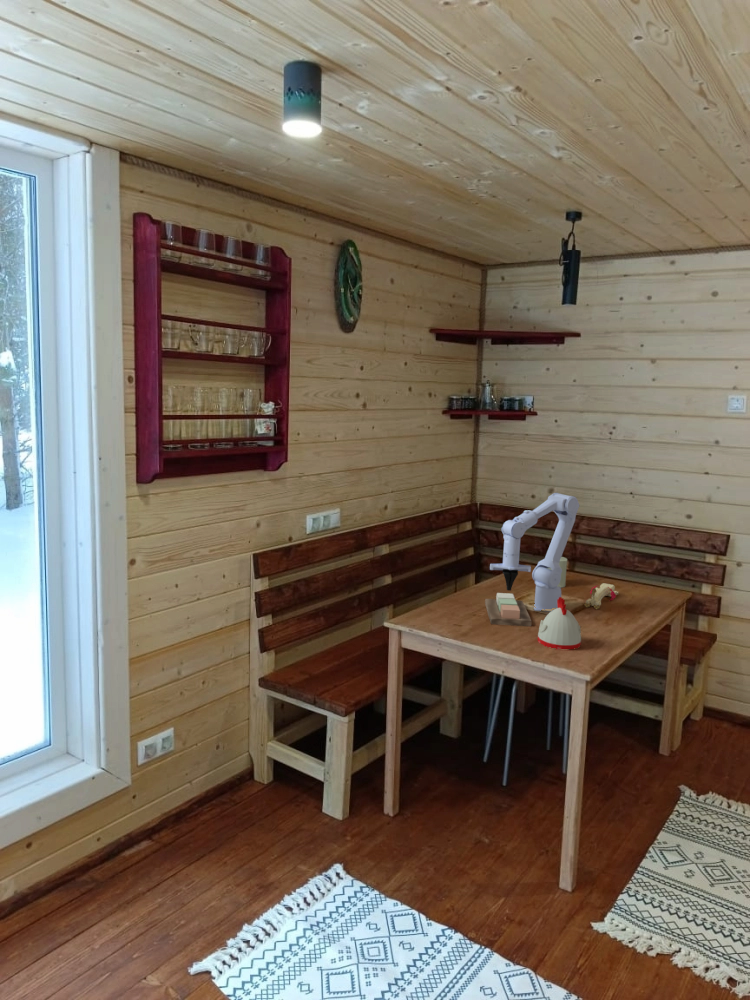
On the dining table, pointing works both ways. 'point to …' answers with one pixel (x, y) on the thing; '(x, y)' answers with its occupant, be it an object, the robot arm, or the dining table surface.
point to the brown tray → (497, 619)
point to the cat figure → (600, 595)
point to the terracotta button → (510, 611)
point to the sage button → (506, 602)
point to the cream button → (504, 596)
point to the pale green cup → (563, 575)
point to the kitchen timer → (560, 629)
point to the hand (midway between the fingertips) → (508, 589)
